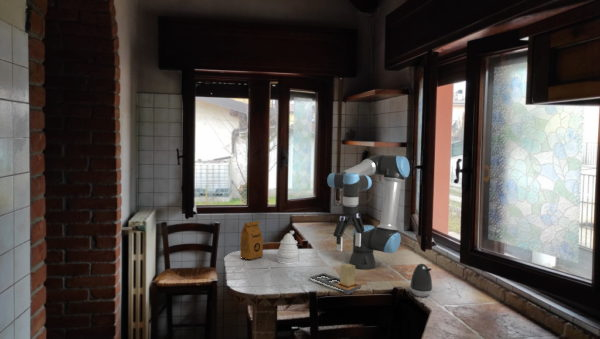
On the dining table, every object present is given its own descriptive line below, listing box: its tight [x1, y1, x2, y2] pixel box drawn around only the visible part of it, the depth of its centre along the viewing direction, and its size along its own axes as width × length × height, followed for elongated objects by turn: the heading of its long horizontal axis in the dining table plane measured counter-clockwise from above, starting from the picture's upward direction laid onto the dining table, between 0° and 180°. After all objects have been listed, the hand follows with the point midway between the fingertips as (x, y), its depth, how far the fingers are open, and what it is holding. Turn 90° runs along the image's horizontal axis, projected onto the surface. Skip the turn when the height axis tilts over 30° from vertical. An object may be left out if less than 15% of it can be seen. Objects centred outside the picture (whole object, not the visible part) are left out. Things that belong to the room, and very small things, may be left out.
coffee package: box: [240, 220, 264, 260], centre depth 274 cm, size 10×12×22 cm
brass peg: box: [339, 262, 356, 288], centre depth 226 cm, size 5×5×12 cm
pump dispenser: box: [409, 263, 433, 298], centre depth 221 cm, size 10×10×15 cm
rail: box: [310, 272, 362, 295], centre depth 232 cm, size 10×25×2 cm, turn 43°
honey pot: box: [276, 230, 300, 263], centre depth 270 cm, size 13×13×18 cm
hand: (348, 248), depth 225 cm, fingers open, 13 cm apart
